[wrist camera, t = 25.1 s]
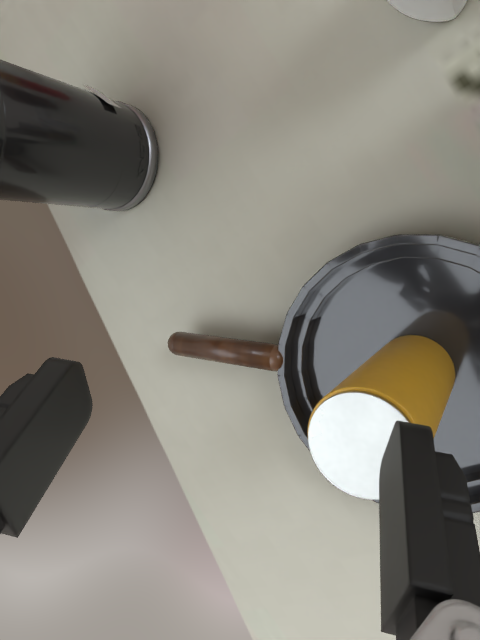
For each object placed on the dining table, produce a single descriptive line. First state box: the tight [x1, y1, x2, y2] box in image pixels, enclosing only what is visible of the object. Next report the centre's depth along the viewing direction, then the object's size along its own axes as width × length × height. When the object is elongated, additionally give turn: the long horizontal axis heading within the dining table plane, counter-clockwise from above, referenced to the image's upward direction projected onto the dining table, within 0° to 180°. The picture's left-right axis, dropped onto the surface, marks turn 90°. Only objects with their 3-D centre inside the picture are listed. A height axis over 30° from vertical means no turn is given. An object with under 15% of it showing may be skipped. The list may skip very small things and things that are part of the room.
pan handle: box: [168, 332, 283, 371], centre depth 36 cm, size 11×2×2 cm, turn 90°
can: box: [308, 335, 455, 500], centre depth 26 cm, size 5×5×13 cm
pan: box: [278, 235, 480, 513], centre depth 30 cm, size 18×18×3 cm
